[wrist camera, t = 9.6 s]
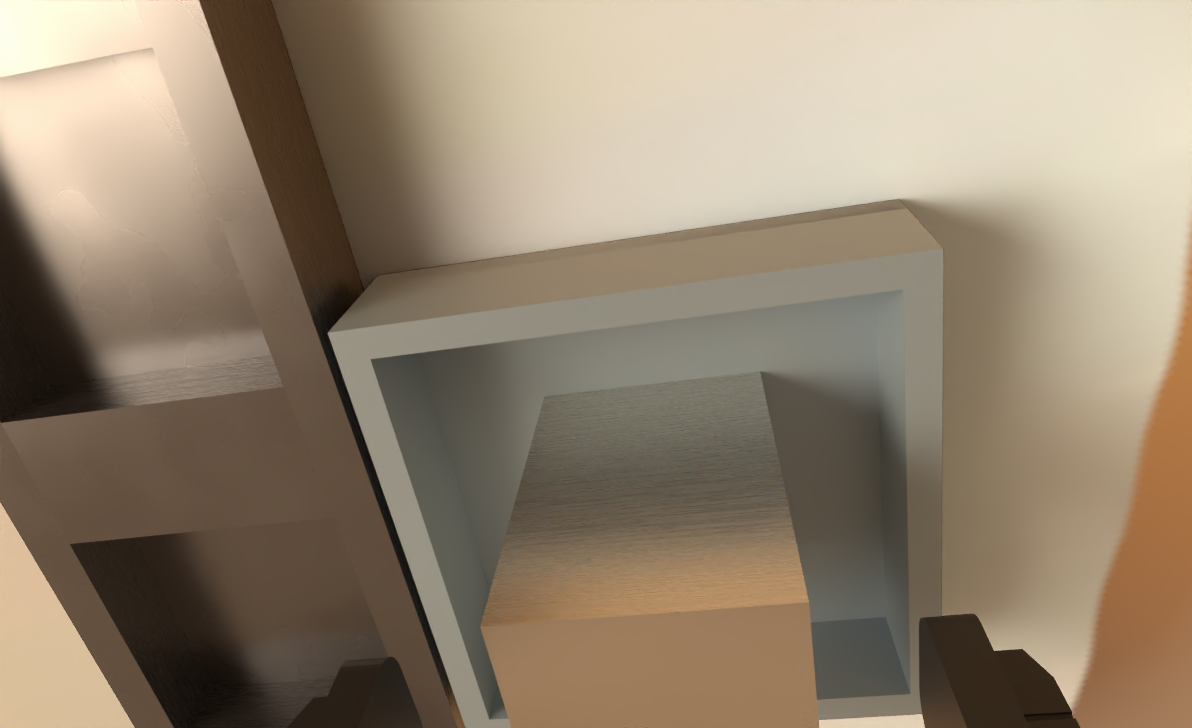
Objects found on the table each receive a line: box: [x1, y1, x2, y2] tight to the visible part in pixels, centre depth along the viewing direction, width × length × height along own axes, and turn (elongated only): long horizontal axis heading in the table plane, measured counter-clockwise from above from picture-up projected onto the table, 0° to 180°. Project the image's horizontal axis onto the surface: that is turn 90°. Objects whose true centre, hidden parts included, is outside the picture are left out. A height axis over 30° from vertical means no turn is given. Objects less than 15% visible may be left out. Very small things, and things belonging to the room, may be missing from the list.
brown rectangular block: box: [480, 371, 819, 728], centre depth 15 cm, size 4×4×6 cm
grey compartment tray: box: [0, 0, 466, 728], centre depth 18 cm, size 18×8×2 cm, turn 10°
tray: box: [328, 199, 943, 728], centre depth 17 cm, size 10×10×3 cm
